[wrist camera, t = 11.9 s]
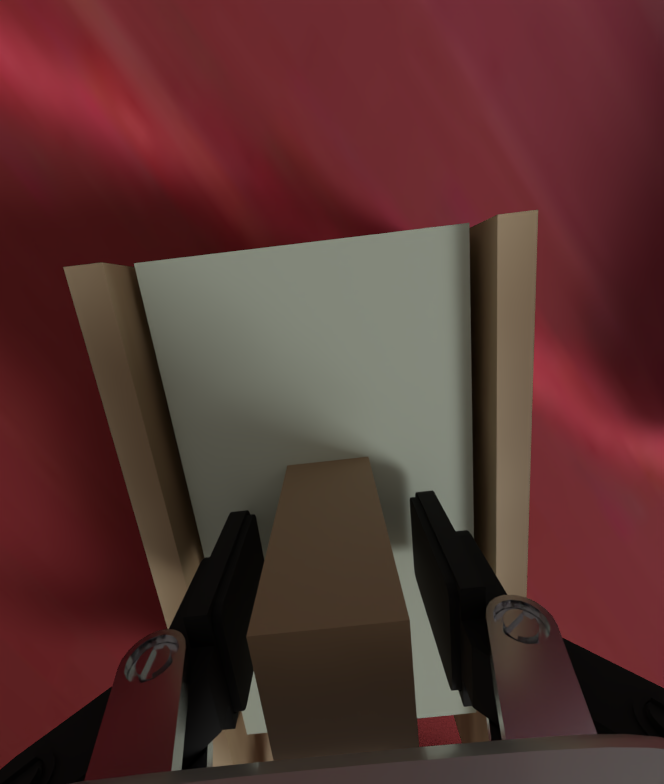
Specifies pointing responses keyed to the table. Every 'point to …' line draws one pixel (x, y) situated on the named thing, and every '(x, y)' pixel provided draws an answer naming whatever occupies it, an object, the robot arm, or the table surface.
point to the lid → (326, 462)
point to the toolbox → (163, 462)
